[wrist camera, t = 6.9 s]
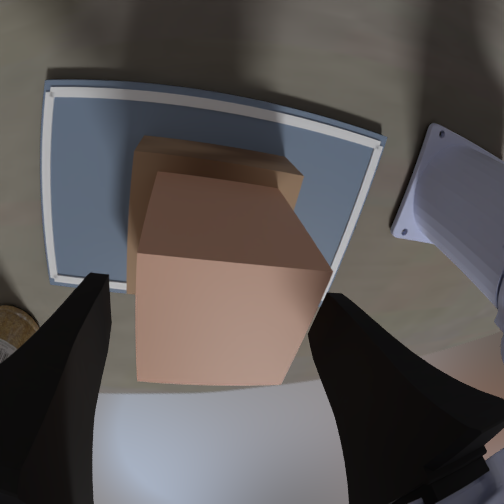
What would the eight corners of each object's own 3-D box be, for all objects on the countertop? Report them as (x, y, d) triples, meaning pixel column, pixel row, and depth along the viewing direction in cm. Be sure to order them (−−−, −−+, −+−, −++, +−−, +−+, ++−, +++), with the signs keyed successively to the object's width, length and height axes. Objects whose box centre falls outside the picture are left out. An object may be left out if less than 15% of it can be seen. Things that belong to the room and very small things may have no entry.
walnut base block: (285, 156, 16) (304, 176, 13) (253, 271, 19) (264, 304, 17) (144, 135, 14) (134, 150, 12) (133, 259, 17) (126, 293, 15)
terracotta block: (278, 188, 13) (333, 271, 8) (251, 283, 16) (280, 384, 11) (157, 171, 12) (137, 252, 7) (147, 274, 15) (137, 380, 10)
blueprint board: (382, 134, 17) (388, 137, 16) (318, 301, 22) (322, 307, 22) (49, 79, 12) (44, 80, 11) (52, 278, 18) (49, 285, 17)
